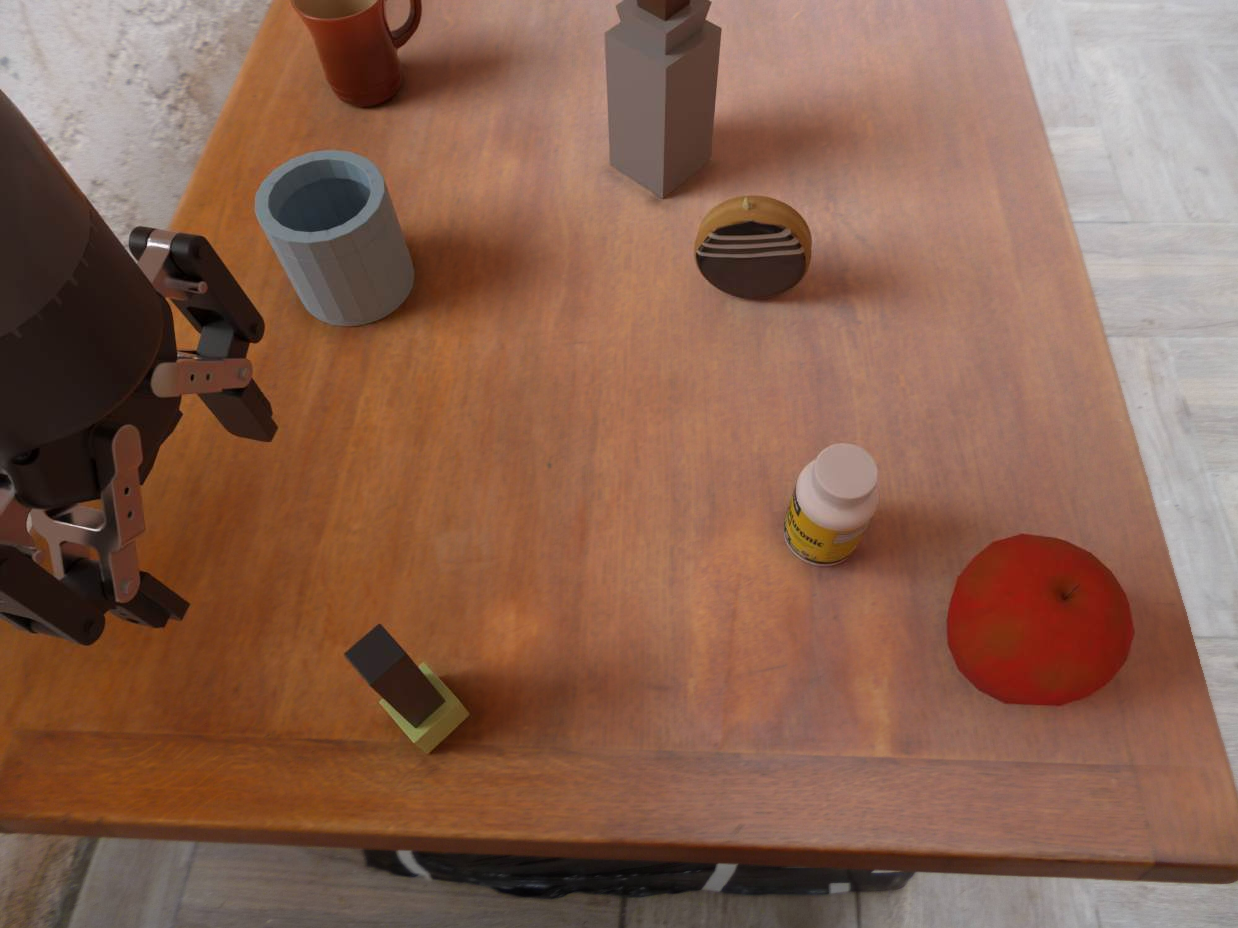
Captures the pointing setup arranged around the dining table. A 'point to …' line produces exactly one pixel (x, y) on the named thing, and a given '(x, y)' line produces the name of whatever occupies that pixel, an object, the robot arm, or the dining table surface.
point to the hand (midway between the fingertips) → (213, 516)
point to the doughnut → (753, 247)
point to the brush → (407, 689)
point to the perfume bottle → (661, 90)
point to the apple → (1038, 622)
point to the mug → (358, 46)
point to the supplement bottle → (832, 505)
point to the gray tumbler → (337, 236)
